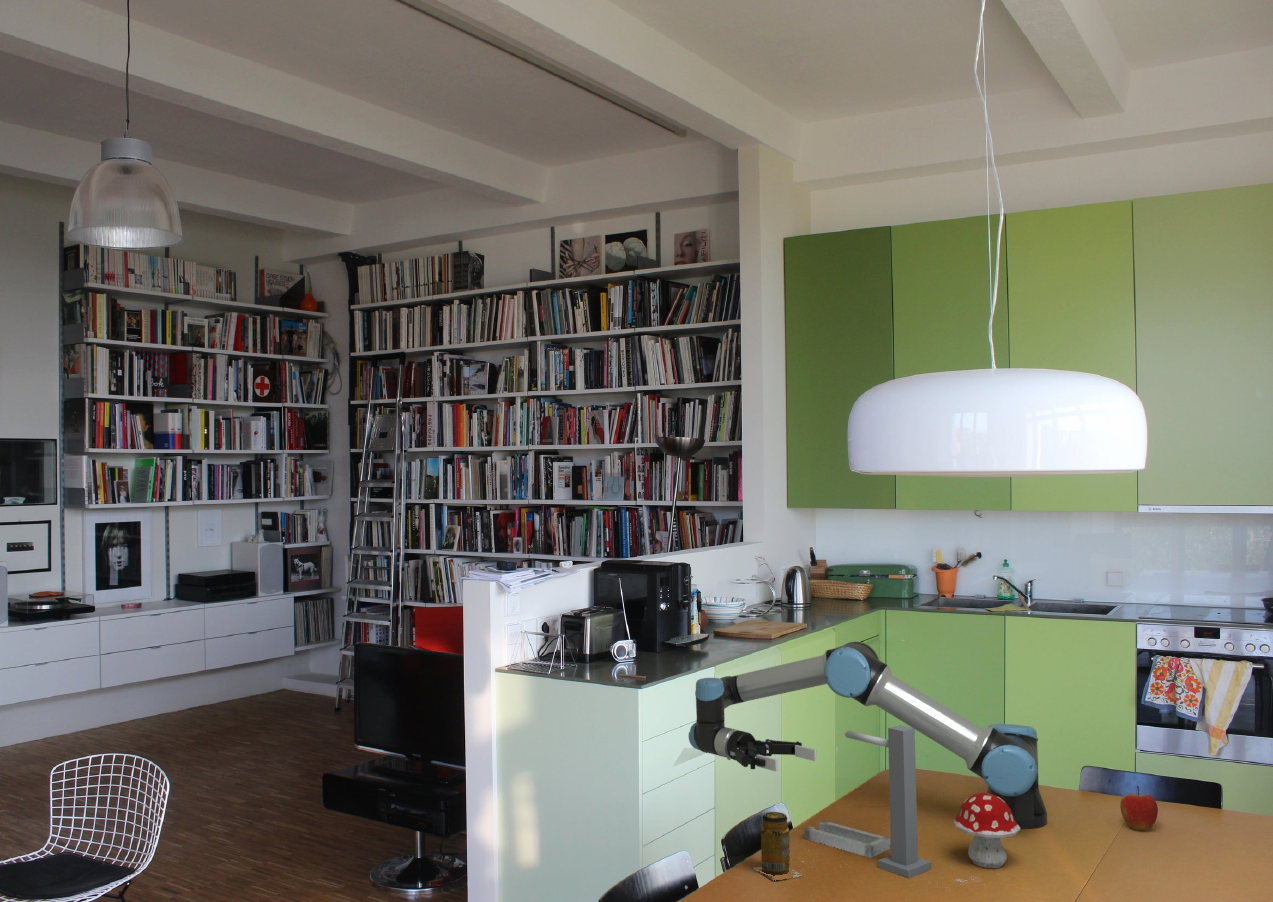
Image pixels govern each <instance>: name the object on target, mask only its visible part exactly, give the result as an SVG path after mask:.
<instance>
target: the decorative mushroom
mask: <svg viewBox="0 0 1273 902" xmlns="http://www.w3.org/2000/svg"><path fill="white" fill-rule="evenodd" d="M953 823H954V825H955V826H956V829H957V830H959V831H961V832H963V833H965V834H968V835H972V836H973V838H972V841H971V843H970V844H969V847H968V850H967V852H968V853H967V855H968V857H969V858H970V860H971V862H972V863H973V865H976V866H978V867H982V868H986V869H997V868H998V869H999V868H1001V867H1003V866H1004V865H1005V863H1006V861H1007V860H1008V854H1007V852H1006V849H1005V847H1004V845H1003V843H1002V841H1001V839H1004V838H1007V837H1014V836H1016V835H1017V834H1018V833H1020V831H1021V828H1020V827H1019V825H1018V824H1017V823H1016V821H1015V820H1014V817H1013V814H1012V811H1011V809H1010V808H1009V807H1008V805H1007V804H1006V803H1005V802H1004V801H1003V800H1002V799H1001V798H1000V797H998V796H995V795H993V794H990V793H987V792H980V793H975V794H972V795H970V796H969V797H968V798H966V799H965V800H964V801H963V802H962V804H961V807H960V809H959V812H958V814H957V816H956V817H955V818H954V820H953Z"/></svg>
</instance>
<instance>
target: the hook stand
mask: <svg viewBox="0 0 1273 902" xmlns="http://www.w3.org/2000/svg"><path fill="white" fill-rule="evenodd" d="M887 728H888V729H887V734H888V735H887V736H888V737H887V738H888V739H886V738H882V737H878V736H873V735H869V734H866V733H865V734H864V733H860V732H857V731H856V732H855V731H852V730H845V732H844V737H845V738H846V739H847V738H848V739H851V740H855V741H860V742H864V743H868V744H873V745H876V746H881V747H885V748H888V773H889V774H888V778H889V779H888V781H889V786H888V787H889V788H888V789H889V820H890V821H889V825H890V855H888V856H886V857H882V858H880V859H877V867H878V868H879V869H882V870H885V871H888V872H891V873H893V874H897V875H899V876H902V877H904V878H907V879H910V878H912V877H915V876H918V875H920V874H922V873H925V872H928V871H930V870H932V862H931V861H929V860H926V859H923V858H920V857H919V853H918V850H919V849H918V848H919V847H918V813H917V811H918V810H917V809H918V808H917V806H918V805H917V773H916V771H917V770H916V767H917V766H916V765H917V764H916V735H915V733H916V732H915V731H916V730H915V728H912V727H911V726H904V725H895V726H894V725H893V726H891V727H887Z"/></svg>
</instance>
